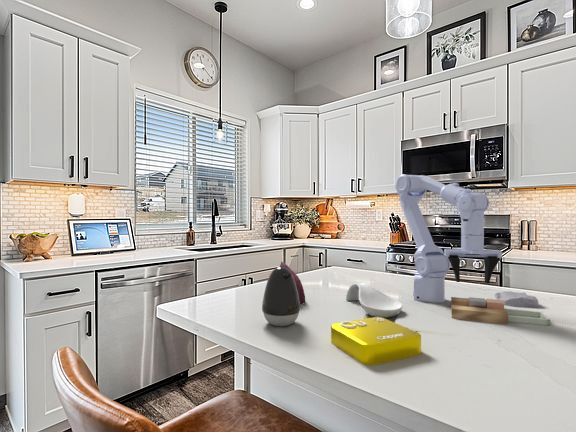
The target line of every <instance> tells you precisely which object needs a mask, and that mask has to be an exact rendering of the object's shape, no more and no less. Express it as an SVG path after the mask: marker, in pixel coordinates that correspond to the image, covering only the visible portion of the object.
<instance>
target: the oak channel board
mask: <svg viewBox="0 0 576 432" xmlns="http://www.w3.org/2000/svg"><path fill="white" fill-rule="evenodd" d="M450 299H451V300H450V303H451V304H450V309H451V311H450V313H451V314H450V315H451V319H458V320H467V321H477V322H485V323H491V324H493V323H494V324H495V323H496V324H501V325H502V324H503V325H509V321H508V315H509V314H508V313H507V312H506V310H498V309H488V308H478V307H469V297H467V298H466V297H455V296H454V297H453V296H451V298H450ZM485 301H486V299H485Z"/></svg>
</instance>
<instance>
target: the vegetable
mask: <svg viewBox="0 0 576 432" xmlns="http://www.w3.org/2000/svg"><path fill="white" fill-rule="evenodd" d="M279 267H285V268H287V269H288V270H289V271H290V272H291V274H292V276H293V278H294V281H295V284H296V287H297V291H298V295H299V301H300V304H303V303H305V304H306V294H305V291H304V287H303V283H302V281H301V279H300V278H299V276H298V275H297V274H296V272H295V271H294V270H293V269H292V268H291V267H289V266H288V264H286V263H285V262H283V261H281V262H280V264H279ZM303 305H304V304H303Z"/></svg>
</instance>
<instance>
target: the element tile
mask: <svg viewBox="0 0 576 432" xmlns="http://www.w3.org/2000/svg"><path fill="white" fill-rule="evenodd" d="M330 343H331V344H332V345H334V346H335V347H336V348H338V349H339V350H341V351H343V352H344V353H346V354H347V355H348V356H350V357H352V358H353V359H355V360H356V361H358V362H359V363H361V364H364V365H367V366H376V365H379V364H384V363H390V362H393V361H398V360H402V359H407V358H412V357H416V356H420V355H421V354H422V334H421V333H419V332H417V331H415V330H412V329H410V328H408V327H405V326H404V325H400V324H399V323H396V322H394V321H392V320H390V319H387V318H382V317H374V316H372V317H368V318H367V317H366V318H362V319H361V318H360V319H354V320H348V321H347V320H346V321H342V322H334V323H332V324H331V325H330Z"/></svg>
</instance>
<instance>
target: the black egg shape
mask: <svg viewBox="0 0 576 432" xmlns="http://www.w3.org/2000/svg"><path fill="white" fill-rule="evenodd" d="M261 304H262V305H261V306H262V307H261V310H262V313H263V316H264V318H265V320H266V322H268V324H270V325H272V326H274V327H288V326H290V325H292V324H293V323H294V322H296V320H297V318H298V317H299V313H300V311H301V305H300V301H299V295H298V291H297V287H296V284H295V281H294V278H293V276H292V274H291V272H290V271H289V270H288V269H287V268H285V267H280V266H278V267H275V268H274V269H273V270H272V271H271V272H270V274H269V277H268V279H267V281H266V285H265V289H264V293H263V297H262V303H261Z"/></svg>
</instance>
